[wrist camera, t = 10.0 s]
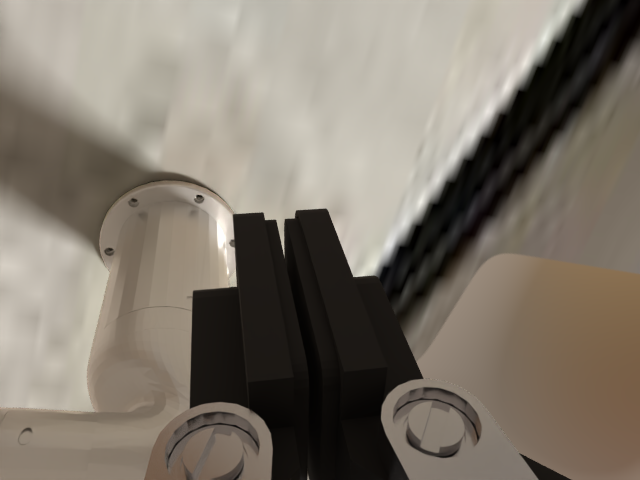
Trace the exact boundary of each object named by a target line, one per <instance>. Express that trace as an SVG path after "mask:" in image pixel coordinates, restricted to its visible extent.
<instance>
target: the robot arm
mask: <svg viewBox="0 0 640 480" xmlns="http://www.w3.org/2000/svg"><path fill="white" fill-rule="evenodd" d="M197 195H202V196H200V197H198V196H197ZM132 198H134V199H137V200H133V199H132ZM232 239H234V240H232ZM99 246H100V253H101V256H102V258H103V261H104V263H105V266H106V267H107V269H108V270H109V272H110V274H109V278H108V282H107V286H106V290H105V294H104V299H103V303H102V307H101V311H100V315H99V319H98V324H97V328H96V332H95V336H94V340H93V344H92V349H91V353H90V357H89V362H88V368H87V385H88V391H89V396H90V399H91V403H92V406H93V408H94V411H95V412H81V411H64V410H46V409H29V408H4V407H0V480H307V468H308V474H309V480H571V479H569V478H567V477H565V476H563V475H561V474H559V473H557V472H555V471H553V470H551V469H549V468H547V467H545V466H543V465H541V464H539V463H537V462H535V461H533V460H531V459H529V458H527V457H526V456H524V455H522V454H520V453H518V451H517V450H516V448H515V447H514V446H513V444H512V443H511V442H510V440H509V439H508V438H507V436H506V435H505V433H504V432H503V431H502V429H501V428H500V427H499V425H498V424H497V423H496V421H495V420H494V419H493V417H492V416H491V414H490V413H489V412H488V410H487V409H486V408H485V407H484V405H482V403H481V402H480V401H479V400H478V399H477V398H476V397H475V396H474V395H472V394H471V393H469V392H468V391H466V390H464V389H463V388H461V387H460V386H457V385H454V384H451V383H449V382H446V381H442V380H434V379H423V377H422V374H421V372H420V370H419V368H418V365H417V363H416V361H415V358H414V356H413V354H412V352H411V349H410V347H409V345H408V343H407V340H406V338H405V336H404V334H403V332H402V329H401V327H400V325H399V323H398V320H397V318H396V316H395V314H394V311H393V309H392V307H391V305H390V302H389V300H388V298H387V296H386V293H385V291H384V289H383V287H382V284H381V282H380V281H379V279H378V277H376V276H363V277H353V275H352V273H351V270H350V267H349V265H348V262H347V259H346V257H345V254H344V252H343V249H342V246H341V244H340V241H339V238H338V236H337V233H336V231H335V228H334V225H333V223H332V220H331V218H330V215H329V212H328V210H327V209H312V210H296V213H295V219H285V223H284V249H285V259H284V254H283V249H282V245H281V240H280V236H279V231H278V226H277V222H276V220H265V218H264V213H246V214H234V212H233V211H232V210H231V208H230V207H229V206H228V204H227V203H226V202H224V201H223V200H222V199H221V198H220V197H219V196H218V195H216V194H214V193H213V192H211V191H209V190H208V189H206V188H203V187H201V186H198V185H195V184H192V183H187V182H182V181H168V180H164V181H157V182H150V183H147V184H144V185H141V186H138V187H136V188H134V189H132V190H130V191H128V192H127V193H125V194H124V195H123V196H121V197H120V198H119V199H118V200H117V201H116V202H115V203H114V204H113V205H112V207H111V208H110V209H109V210H108V212H107V214H106V216H105V218H104V221H103V224H102V227H101V231H100V239H99ZM235 269H236V277H237V287H230V283H229V278H230V277H231V276H232V274H233V273H234V271H235Z"/></svg>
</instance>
